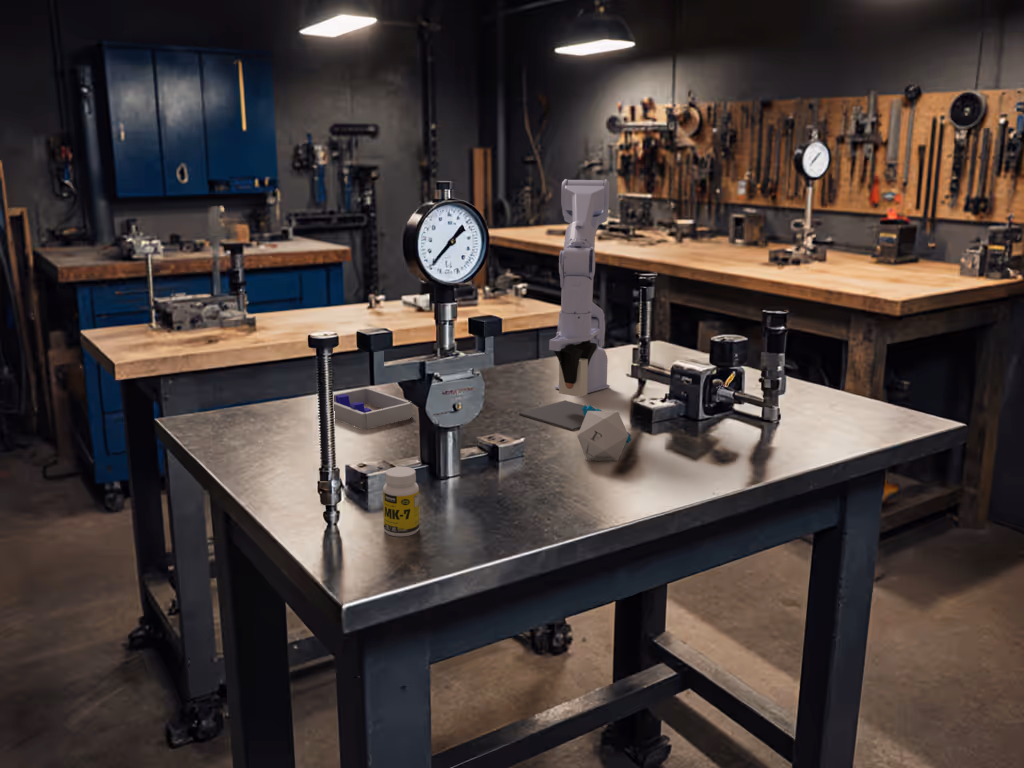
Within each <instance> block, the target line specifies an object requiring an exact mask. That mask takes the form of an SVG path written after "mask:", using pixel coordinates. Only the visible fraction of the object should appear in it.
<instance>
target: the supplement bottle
mask: <svg viewBox="0 0 1024 768" xmlns="http://www.w3.org/2000/svg"><path fill="white" fill-rule="evenodd" d="M384 474H385V479H384V480H385V484H384V485H383V487H382V504H383V506H382V508H383V510H382V511H383V530H384V532H385V533H386V534H387V535H390V536H392V537H409V536H412V535H414V534H416V533H417V532H419V530H420V488H419V487H420V486H419V485H418V483H417V475H416V474H417V473H416V470H415V468H412V467H410V466H396V467H394V466H393V467H391V468H388V469H386V471H385V473H384Z"/></svg>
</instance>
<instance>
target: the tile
mask: <svg viewBox="0 0 1024 768" xmlns="http://www.w3.org/2000/svg"><path fill="white" fill-rule="evenodd" d="M587 377H588V359H583V358H580V360H579V364H578V370H577V379H576V382H575V383H574V384H571V383H565V381H564V377H563V372H562V369H561V365H560V362H559V361H558V385H559V389H558V394H559V395H561V394H562V395H566V396H567V395H568V396H572V397H578V398H582V397H584V396H587V395H588V393H587Z"/></svg>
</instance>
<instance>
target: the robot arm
mask: <svg viewBox="0 0 1024 768" xmlns="http://www.w3.org/2000/svg"><path fill="white" fill-rule="evenodd" d="M560 197H561V198H560V202H561V203H560V204H561V209H562V211H561V212H562V216H563V219H564V222H566V223H568V226H567V227H566V230H565V233H564V234H565V235H564V242H563V249H561V250H560V251H559V257H558V261H559V262H558V273H559V278H560V288H561V294H560V295H561V299H560V300H561V302H560V303H561V304H560V311H559V314H558V321H557V332H556V333H555V334H556V336H555V337H554V338H551V339H549V344H548V345H549V346H548V347H549V348H548V350H549V351H553V352H554V353H555V356H556V357H557V360H558V363H559V362H560V365H561V369H562V372H563V377H564V381H565V383H571V384H574V383H575V382H576V379H577V370H578V364H579V360H580V358H583V359H588V377H587V394H589V393H593V392H597V391H602V390H605V389H608V388H610V387H611V385H610V384H607V383H608V360H609V359H608V355H607V352H606V351H605V349H604V348H603V346H604V344H605V334H606V333H605V331H606V330H605V329H606V328H605V326H606V323H605V322H606V321H605V313H604V310H603V309H602V308H601V307H599V306H598V305H597V304H596V303H594V301H593V294H594V277H595V272H596V252H595V242H596V234H597V232H598V231H597V230H598V228H599V226H601V225H602V224H603V223H606V222H607V218H608V217H609V207H610V181H608V179H607V178H605V179H601V180H600V179H590V180H589V179H567V178H565V179H564V180H563V181H562V182H561V192H560ZM554 388H555V389H558V390H559V384H556V385H554Z"/></svg>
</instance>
